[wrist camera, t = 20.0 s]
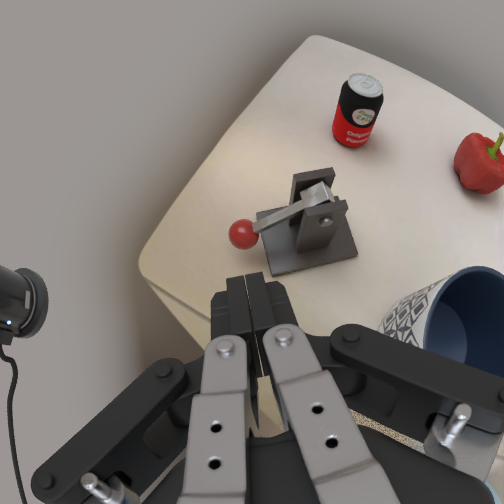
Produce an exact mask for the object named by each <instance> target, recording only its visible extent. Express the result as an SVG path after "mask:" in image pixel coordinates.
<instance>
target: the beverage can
mask: <svg viewBox="0 0 504 504" xmlns="http://www.w3.org/2000/svg"><path fill="white" fill-rule="evenodd" d="M382 92H383V87H382V85H381V83H380V82H379V81H378V80H377V79H375V78H374V77H372V76H370V75H367V74H363V73H356V74H352V75H351V76H350V77H349V78H348V80H347V81H346V82H344V84H343V85H342V89H341V93H340V97H339V101H338V105H337V109H336V113H335V117H334V121H333V125H332V131H333V134H334V136H335V137H336V139H337V140H338V141H340V142H341V143H343V144H345V145H347V146H352V147H356V146H361V145H363V144H364V143H366V142H367V140H368V138H369V136H370V133H371V131H372V128H373V126H374V123H375V121H376V118H377V116H378V113H379V111H380V108H381V106H382V103H383V93H382Z"/></svg>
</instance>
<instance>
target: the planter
mask: <svg viewBox="0 0 504 504" xmlns="http://www.w3.org/2000/svg"><path fill="white" fill-rule="evenodd" d="M378 332H380V333H382V334H385V335H388V336H390V337H393V338H395V339H398V340H401V341H403V342H406V343H409V344H411V345H414V346H417V347H419V348H422V349H425V350H427V351H430V352H433V353H435V354H438V355H441V356H444V357H446V358H449V359H452V360H455V361H457V362H460V363H463V364H466V365H468V366H471V367H474V368H477V369H480V370H483V371H485V372H488V373H491V374H494V375H497V376H500V377H503V378H504V275H503V274H501V273H500V272H498V271H496V270H494V269H492V268H488V267H485V266H472V267H467V268H464V269H462V270H459V271H457V272H455V273H453V274H451V275H449V276H447V277H445V278H443V279H441V280H439V281H437V282H435V283H433V284H431V285H429V286H427V287H425V288H423V289H421V290H419V291H417V292H415V293H413V294H411V295H409V296H407V297H405V298H404V299H402V300H400V301H399V302H398V303H396V304H395V305H394V306H393V307H392V308H391V309H390V310H389V312H388V313H387V314H386V316H385V318H384V319H383V321H382V323H381V325H380V327H379V330H378Z"/></svg>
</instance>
